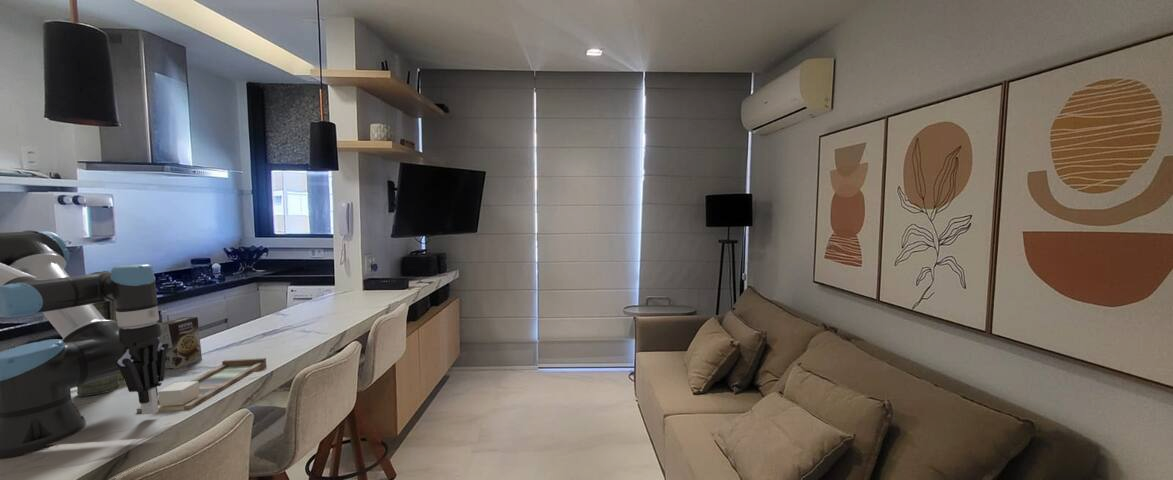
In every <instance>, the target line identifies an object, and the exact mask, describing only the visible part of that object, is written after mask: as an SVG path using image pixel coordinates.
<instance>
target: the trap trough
mask: <svg viewBox="0 0 1173 480" xmlns="http://www.w3.org/2000/svg"><path fill="white" fill-rule="evenodd" d="M221 363H222V364H220V365H219V366H216V367H214V368H213V369H211V370H209V371H207V372H205V373H203V374H201V375H199V376H197V377H196V378H194V379H192V380H190V381H189V382H193V381H199V389H200V395H199V396H198V397H196V398H194V399H192V400H191V401H189V402H187V403H186V404H184V405H172V406H160V404H159V397H157V402H158V410H159V411H158V412H166V411H167V412H168V411H181V410H182V411H183V410H192V409H193V408H195V407H197V406H198V405H200V404H202V403H203V402H205V401H206V400H208V399H210V398H211V397H213V396H215V395H216V394H218V393H220V392H221V391H223V390H225V389H227V388H228V387H230V386H231V385H233V384H235V383H236V382H238V381H240V380H241V379H243V378H245V377H246V376H248V375H250V374H252V373H257V372H260V371H261V370H263V369H264V368H266V367H267V366H268V365H267V358H266V357H260V358H243V359H226V360H225V359H224V360H223V361H222V362H221ZM136 413H137V414H138V413H139V414H140V413H141V414H142V409H141V406H139V407H138V408H137V409H136Z"/></svg>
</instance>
